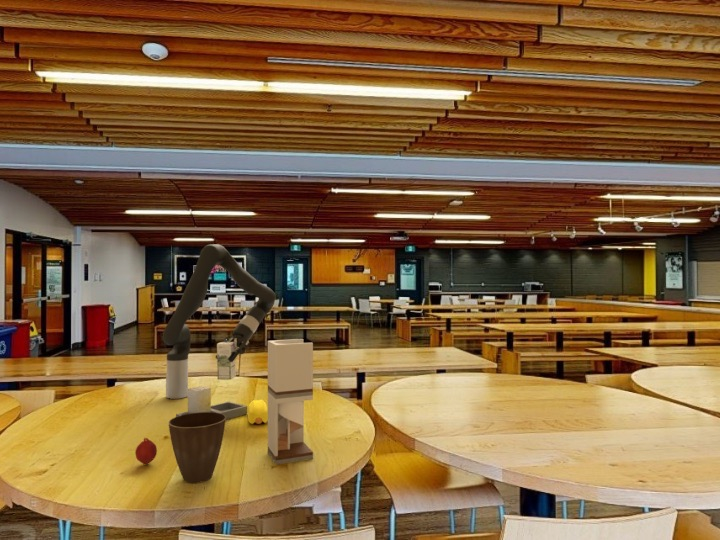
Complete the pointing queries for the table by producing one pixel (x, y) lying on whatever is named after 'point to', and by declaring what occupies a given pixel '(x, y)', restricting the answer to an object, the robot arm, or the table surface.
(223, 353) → the syrup box
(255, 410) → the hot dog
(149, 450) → the onion
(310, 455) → the white brown-banded tower
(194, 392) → the block
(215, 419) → the plant pot
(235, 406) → the grey rectangular tray
